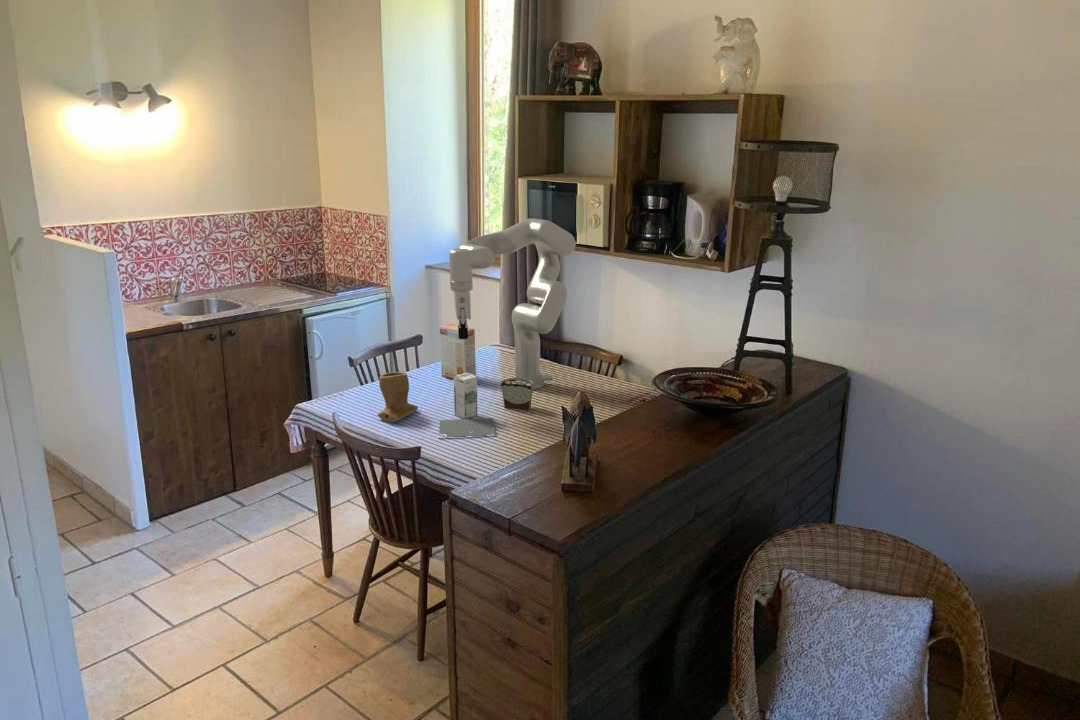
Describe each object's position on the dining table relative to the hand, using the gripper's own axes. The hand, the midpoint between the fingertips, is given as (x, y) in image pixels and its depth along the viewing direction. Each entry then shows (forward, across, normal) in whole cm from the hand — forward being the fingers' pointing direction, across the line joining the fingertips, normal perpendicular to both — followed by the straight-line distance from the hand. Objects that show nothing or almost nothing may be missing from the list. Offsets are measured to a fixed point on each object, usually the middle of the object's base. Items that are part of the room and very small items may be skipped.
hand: (463, 337), depth 273 cm
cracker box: (+25, +30, +2) cm, 39 cm away
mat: (+25, -22, 0) cm, 33 cm away
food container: (+25, -4, -19) cm, 32 cm away
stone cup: (+25, -7, +24) cm, 36 cm away
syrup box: (+25, -10, 0) cm, 27 cm away
